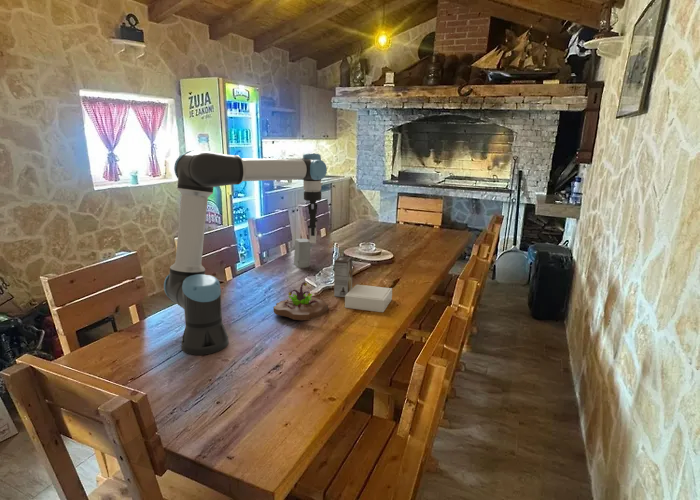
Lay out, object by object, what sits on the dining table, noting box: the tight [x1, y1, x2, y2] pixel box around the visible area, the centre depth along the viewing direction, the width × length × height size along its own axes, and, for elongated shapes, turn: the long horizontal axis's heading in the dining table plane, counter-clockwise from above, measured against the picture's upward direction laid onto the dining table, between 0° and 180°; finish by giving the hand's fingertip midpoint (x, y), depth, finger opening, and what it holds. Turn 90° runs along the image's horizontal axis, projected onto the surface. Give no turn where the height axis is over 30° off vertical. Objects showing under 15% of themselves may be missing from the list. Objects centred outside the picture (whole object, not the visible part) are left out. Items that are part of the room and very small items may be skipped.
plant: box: [273, 281, 329, 321], centre depth 167 cm, size 20×20×11 cm
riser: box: [344, 283, 393, 313], centre depth 176 cm, size 16×16×5 cm
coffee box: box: [333, 255, 353, 298], centre depth 186 cm, size 9×6×16 cm
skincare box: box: [293, 237, 312, 269], centre depth 226 cm, size 8×7×16 cm
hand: (313, 239), depth 184 cm, fingers open, 13 cm apart
